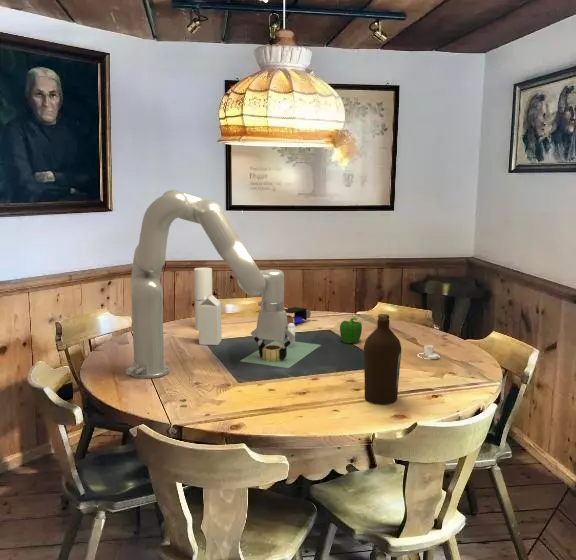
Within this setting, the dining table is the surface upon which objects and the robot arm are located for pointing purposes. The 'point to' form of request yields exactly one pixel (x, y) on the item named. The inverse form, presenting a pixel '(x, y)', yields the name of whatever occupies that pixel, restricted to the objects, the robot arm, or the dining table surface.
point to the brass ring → (271, 353)
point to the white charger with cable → (429, 352)
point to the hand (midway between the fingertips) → (272, 357)
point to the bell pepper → (350, 331)
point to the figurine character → (297, 315)
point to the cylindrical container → (201, 289)
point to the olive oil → (382, 363)
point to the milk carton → (210, 321)
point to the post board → (293, 352)
